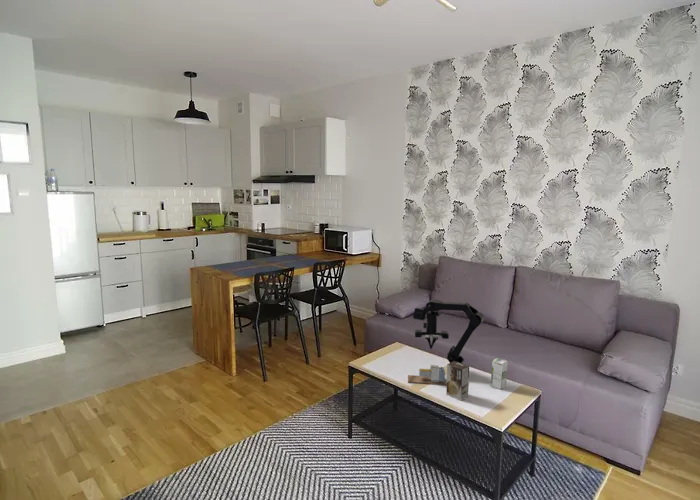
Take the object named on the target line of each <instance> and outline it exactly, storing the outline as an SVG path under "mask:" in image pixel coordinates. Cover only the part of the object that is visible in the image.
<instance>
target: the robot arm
mask: <svg viewBox="0 0 700 500" xmlns="http://www.w3.org/2000/svg"><path fill="white" fill-rule="evenodd" d="M440 311H460V312H463V313H464V314H465V315H466V317H467V318H468V319H469V322H468V326H467V328H466V329H465V331H464V333H463V334H462V336H461V337H460V339H459V341H458V342H457V344H456V345H452V346H451V347H450V349H449V351H448V352H447V353H446V355H447V356H446V359H447V361H448V362H449V363H451V362H453V361H456V362H459V363H462V364H464V362H465V359H464V358H463V356H462V353H463V350H464V348H465V346H466V344H467V343H468V341H469V340H470V338H471V336H472V335H473V333H474V332H475V330H476V329H478V327H479V326H480V325H481V323H482V322H483V321H484V320H485V315H484V314H483V313H482V312H480V311H479V310H477V309H476V308H475V307H473V306H472V305H471V304H470V303H468V302H453V301H452V302H450V301H449V302H447V301H446V302H445V301H442V300H440V299H435V298H433V299H431V300H429V301H427V303H426V305H425V307H424V308H420V307H415V308H414V311H413V316H412V317H413V320H414V321H415V320H416V321H421V322H422V329H425V331H422V329H415V330H414V337H415V338H422V337H423V336H424V339H425V340H426V341H427V343H428V346H429V349H430V350H432V349H433V347H434V344H435V343H436V341H439V337H441V338H442V339H443V340H445V339H446V340H448V339H449V338H450V337H449V335H450V334H449V331H448V330H440V332H437V329H438V317H440V316H441V315H442V313H441V312H440ZM425 320H426V322H424V321H425Z"/></svg>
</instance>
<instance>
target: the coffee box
mask: <svg viewBox="0 0 700 500" xmlns="http://www.w3.org/2000/svg"><path fill="white" fill-rule="evenodd" d="M469 379H470V365H468V364H464V363H459V362H456V361H453V362H451V363H450V362H449V363H447V365H446V390H445V392H446V395H447V396H450V397H452V398H455V399H456V400H459V401H463V400H465V399H467V398H468V397H469V386H470V385H469V383H470V382H469V381H470V380H469Z"/></svg>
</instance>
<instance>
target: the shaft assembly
mask: <svg viewBox="0 0 700 500" xmlns="http://www.w3.org/2000/svg"><path fill="white" fill-rule="evenodd" d="M438 367H439V366H438ZM418 371H419V373H418V374H419V375H418V376H422V377H431V369H430V368H419V370H418ZM445 376H446V369H445V367H442V366H440V367H439V382H444V383H445V380H446V377H445Z"/></svg>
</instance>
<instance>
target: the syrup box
mask: <svg viewBox="0 0 700 500" xmlns="http://www.w3.org/2000/svg"><path fill="white" fill-rule="evenodd" d="M508 364H509V363H508V360H506V359H504V358H501V357H497V358H494V359H493V360H492V363H491V378H490V387H492V388H494V389H498V390H503V389H504V388H506V386H507V374H508Z"/></svg>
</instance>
